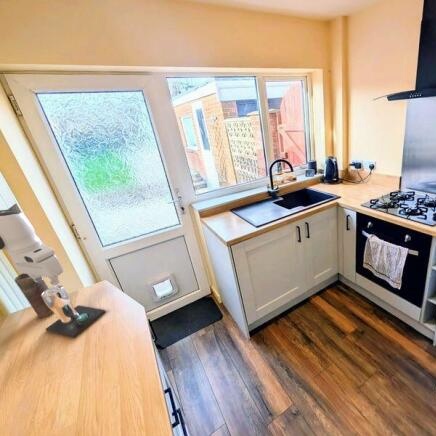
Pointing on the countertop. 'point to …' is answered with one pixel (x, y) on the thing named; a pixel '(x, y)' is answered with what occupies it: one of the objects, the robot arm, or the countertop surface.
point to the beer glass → (60, 303)
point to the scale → (76, 322)
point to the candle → (34, 293)
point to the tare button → (82, 317)
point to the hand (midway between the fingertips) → (47, 282)
